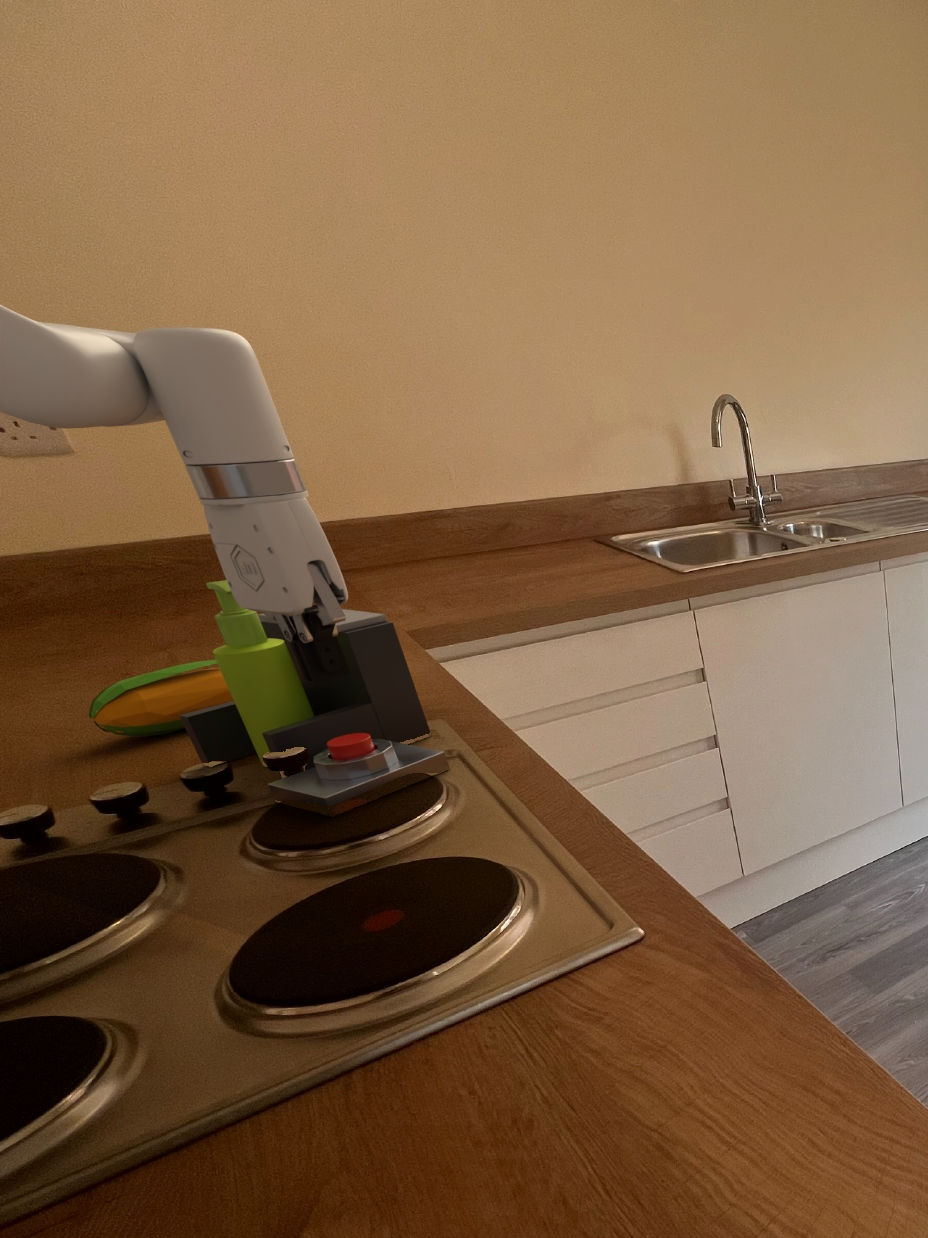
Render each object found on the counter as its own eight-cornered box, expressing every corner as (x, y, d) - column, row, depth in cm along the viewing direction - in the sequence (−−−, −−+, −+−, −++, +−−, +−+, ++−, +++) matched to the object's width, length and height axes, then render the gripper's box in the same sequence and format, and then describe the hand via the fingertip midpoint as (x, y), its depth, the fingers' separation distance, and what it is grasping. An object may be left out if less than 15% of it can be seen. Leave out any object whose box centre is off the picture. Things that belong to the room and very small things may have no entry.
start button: (347, 764, 84) (341, 748, 84) (324, 759, 86) (318, 743, 85) (383, 750, 88) (378, 735, 87) (361, 746, 89) (355, 730, 88)
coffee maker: (293, 787, 88) (234, 651, 82) (203, 765, 93) (141, 636, 87) (433, 736, 101) (391, 614, 94) (346, 719, 106) (301, 603, 100)
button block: (332, 818, 82) (317, 780, 80) (275, 803, 85) (259, 767, 83) (450, 769, 92) (439, 736, 90) (395, 758, 95) (383, 725, 93)
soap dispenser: (278, 774, 91) (198, 590, 82) (253, 761, 94) (174, 583, 86) (341, 756, 95) (272, 579, 87) (315, 744, 99) (246, 573, 90)
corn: (58, 682, 96) (258, 637, 113) (88, 742, 100) (278, 690, 116) (94, 693, 94) (294, 646, 111) (124, 755, 97) (313, 700, 114)
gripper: (150, 487, 75) (239, 682, 83) (252, 490, 70) (337, 698, 78) (248, 477, 81) (322, 660, 89) (347, 480, 76) (417, 673, 84)
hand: (328, 677), depth 83 cm, fingers closed
